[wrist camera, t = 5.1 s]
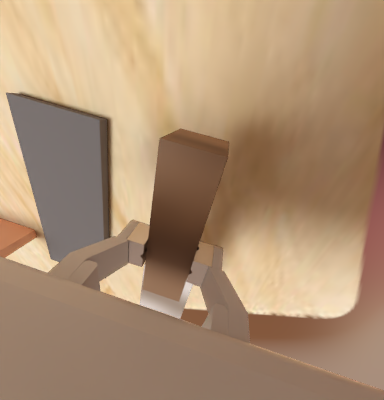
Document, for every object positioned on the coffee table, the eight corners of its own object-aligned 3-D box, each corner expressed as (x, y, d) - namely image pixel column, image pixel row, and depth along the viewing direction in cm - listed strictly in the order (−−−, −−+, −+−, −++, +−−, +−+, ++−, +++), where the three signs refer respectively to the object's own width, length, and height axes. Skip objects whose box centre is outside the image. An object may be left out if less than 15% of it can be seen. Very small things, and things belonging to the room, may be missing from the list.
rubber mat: (18, 93, 16) (5, 92, 15) (106, 119, 15) (99, 119, 14) (56, 254, 27) (51, 259, 26) (109, 272, 26) (105, 278, 25)
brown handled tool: (167, 125, 9) (142, 133, 6) (242, 145, 9) (246, 162, 6) (145, 292, 17) (130, 325, 15) (183, 305, 17) (174, 341, 14)
